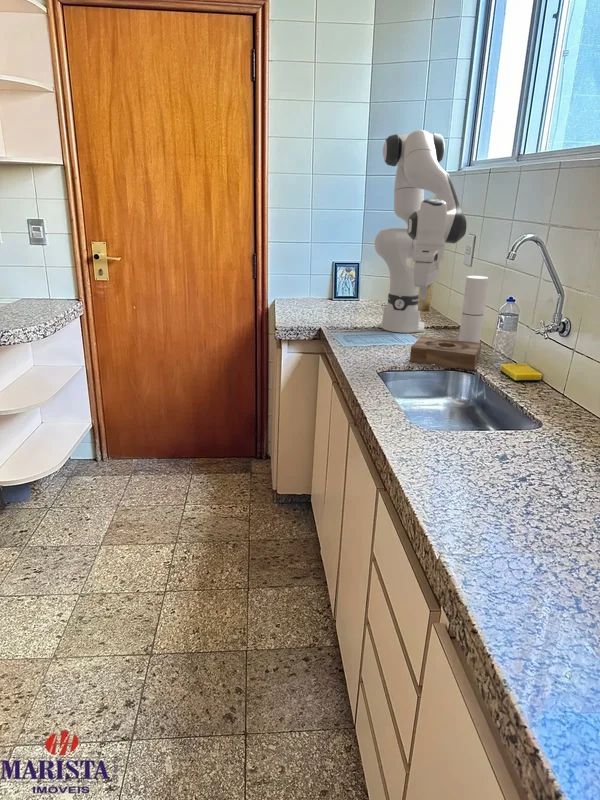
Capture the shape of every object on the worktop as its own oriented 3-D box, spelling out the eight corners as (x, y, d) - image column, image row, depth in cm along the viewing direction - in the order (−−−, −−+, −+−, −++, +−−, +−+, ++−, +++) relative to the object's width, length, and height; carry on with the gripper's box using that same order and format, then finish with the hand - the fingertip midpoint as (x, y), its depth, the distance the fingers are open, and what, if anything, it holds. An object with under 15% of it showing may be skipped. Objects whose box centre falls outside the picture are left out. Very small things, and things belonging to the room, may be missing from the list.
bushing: (419, 308, 182) (421, 284, 179) (431, 310, 180) (433, 285, 177) (416, 310, 178) (418, 285, 175) (428, 312, 177) (431, 286, 174)
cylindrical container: (456, 349, 194) (465, 277, 186) (459, 345, 201) (467, 275, 192) (477, 352, 192) (487, 279, 183) (479, 347, 198) (489, 276, 190)
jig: (419, 350, 192) (421, 336, 191) (479, 357, 185) (481, 343, 183) (409, 361, 178) (411, 346, 177) (473, 370, 171) (475, 354, 169)
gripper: (426, 251, 183) (422, 293, 188) (411, 255, 166) (407, 301, 170) (445, 252, 181) (441, 294, 186) (432, 257, 163) (428, 303, 168)
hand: (425, 298), depth 178 cm, fingers closed on bushing, 4 cm apart
